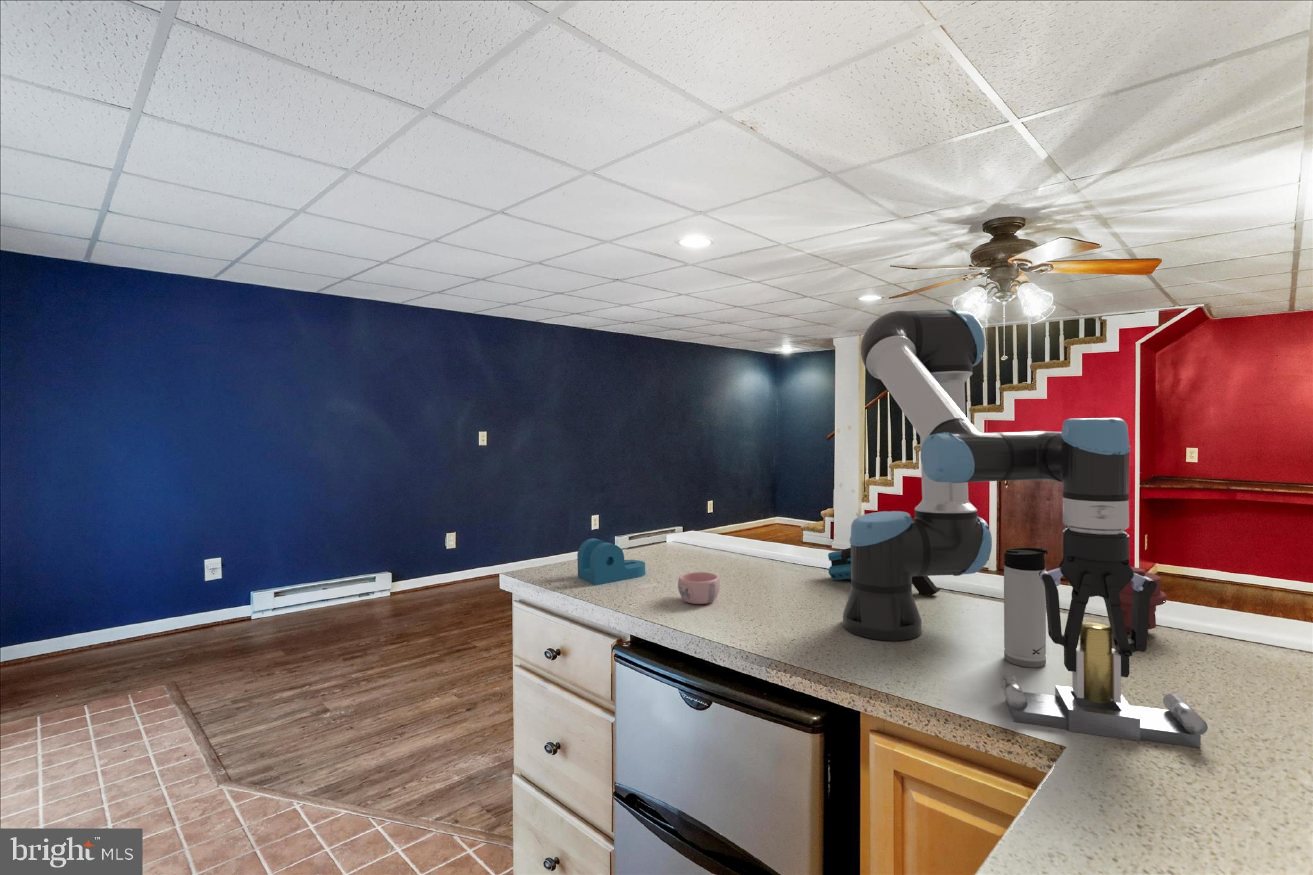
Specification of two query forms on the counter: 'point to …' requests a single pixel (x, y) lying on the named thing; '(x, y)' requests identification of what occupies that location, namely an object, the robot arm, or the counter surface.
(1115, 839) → the counter surface
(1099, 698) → the pin
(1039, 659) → the travel mug
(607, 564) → the camera mount
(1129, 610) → the mechanical component
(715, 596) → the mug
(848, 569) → the gun
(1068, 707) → the square socket base
